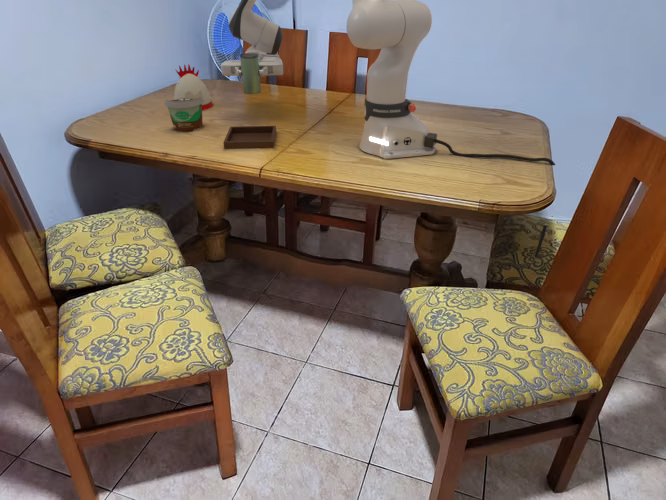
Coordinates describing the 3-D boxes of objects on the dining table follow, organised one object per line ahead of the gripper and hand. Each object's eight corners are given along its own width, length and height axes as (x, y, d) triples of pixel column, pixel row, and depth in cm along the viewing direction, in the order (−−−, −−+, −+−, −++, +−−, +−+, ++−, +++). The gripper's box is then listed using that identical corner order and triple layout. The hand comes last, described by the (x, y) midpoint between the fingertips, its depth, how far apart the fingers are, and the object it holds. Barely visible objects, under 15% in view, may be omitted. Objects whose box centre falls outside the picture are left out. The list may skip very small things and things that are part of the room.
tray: (276, 133, 150) (275, 125, 148) (273, 149, 138) (273, 141, 136) (231, 134, 149) (230, 126, 148) (224, 150, 137) (223, 142, 136)
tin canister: (261, 89, 153) (258, 52, 147) (260, 94, 148) (257, 56, 142) (244, 89, 153) (240, 53, 146) (242, 94, 148) (238, 56, 142)
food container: (168, 134, 149) (162, 103, 144) (169, 128, 154) (163, 97, 149) (208, 130, 152) (203, 100, 146) (207, 125, 157) (202, 95, 151)
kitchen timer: (172, 103, 179) (164, 62, 171) (207, 99, 184) (201, 59, 176) (178, 113, 169) (170, 69, 160) (215, 108, 173) (209, 66, 165)
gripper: (222, 54, 156) (216, 63, 144) (283, 54, 157) (281, 62, 145) (225, 74, 159) (218, 84, 148) (284, 73, 160) (282, 83, 149)
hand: (250, 73), depth 146 cm, fingers closed on tin canister, 5 cm apart
